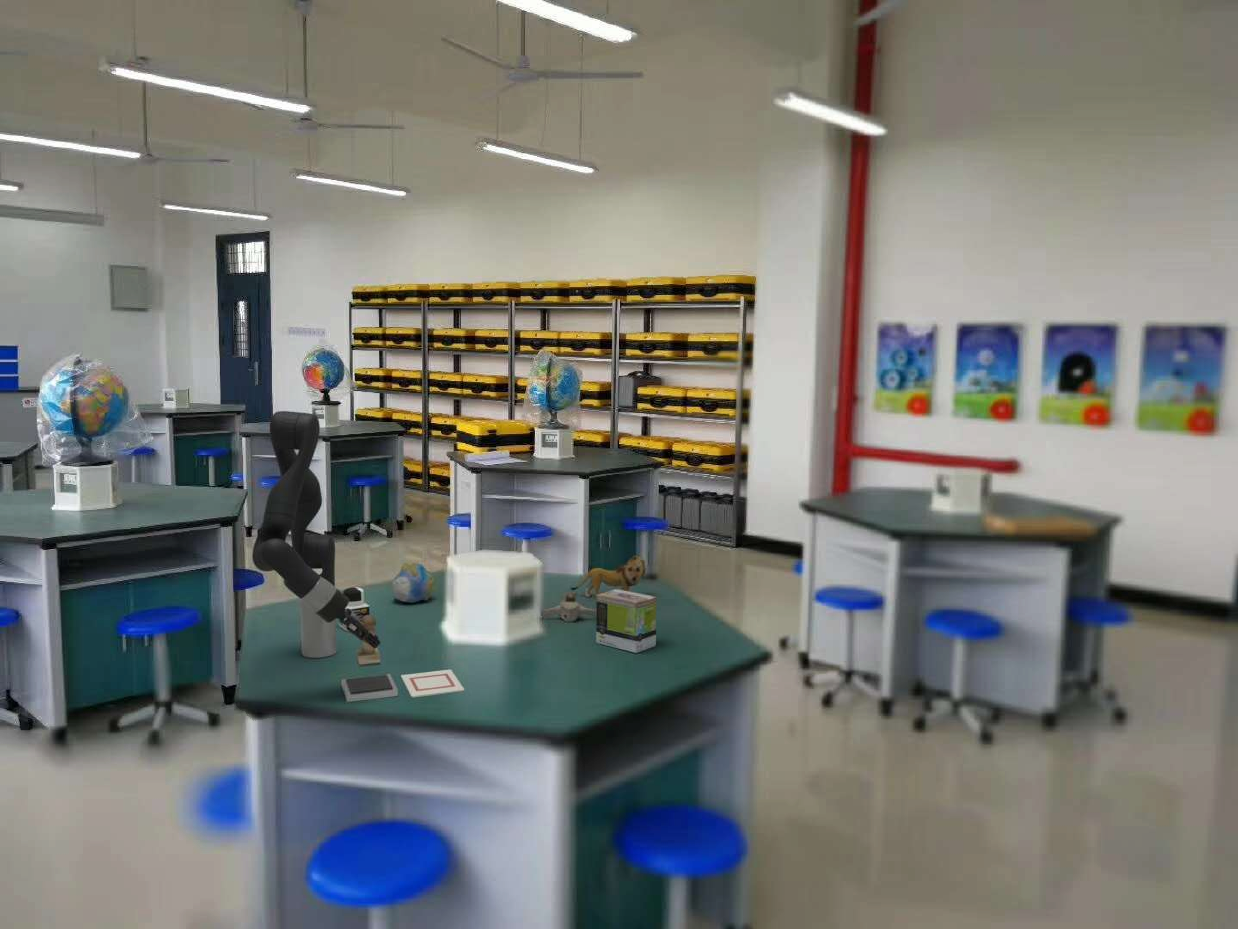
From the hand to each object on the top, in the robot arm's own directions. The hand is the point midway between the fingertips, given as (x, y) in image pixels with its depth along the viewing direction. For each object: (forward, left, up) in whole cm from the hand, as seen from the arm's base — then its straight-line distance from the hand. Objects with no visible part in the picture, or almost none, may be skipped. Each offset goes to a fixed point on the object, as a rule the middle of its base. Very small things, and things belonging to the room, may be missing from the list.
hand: (376, 643), depth 238 cm
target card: (0, +13, -12) cm, 18 cm away
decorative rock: (-82, +23, -12) cm, 86 cm away
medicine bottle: (-57, +1, -12) cm, 58 cm away
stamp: (0, -2, -5) cm, 5 cm away
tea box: (-13, +72, -12) cm, 74 cm away
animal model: (-63, +86, -12) cm, 107 cm away
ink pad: (0, -2, -12) cm, 12 cm away
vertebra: (-43, +66, -12) cm, 80 cm away
